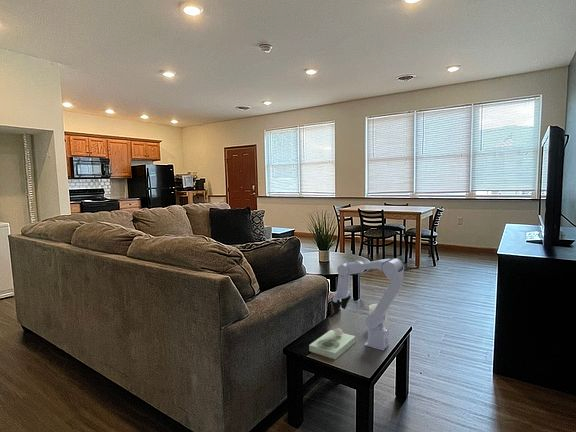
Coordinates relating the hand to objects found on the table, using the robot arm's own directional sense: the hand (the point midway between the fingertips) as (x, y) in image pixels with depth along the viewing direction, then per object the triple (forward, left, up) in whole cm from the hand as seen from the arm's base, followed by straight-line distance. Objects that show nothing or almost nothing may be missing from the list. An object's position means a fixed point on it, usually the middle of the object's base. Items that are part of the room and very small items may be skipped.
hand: (339, 310), depth 175 cm
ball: (-4, +8, -8) cm, 12 cm away
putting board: (-4, +14, -13) cm, 19 cm away
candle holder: (-14, -17, -13) cm, 26 cm away
